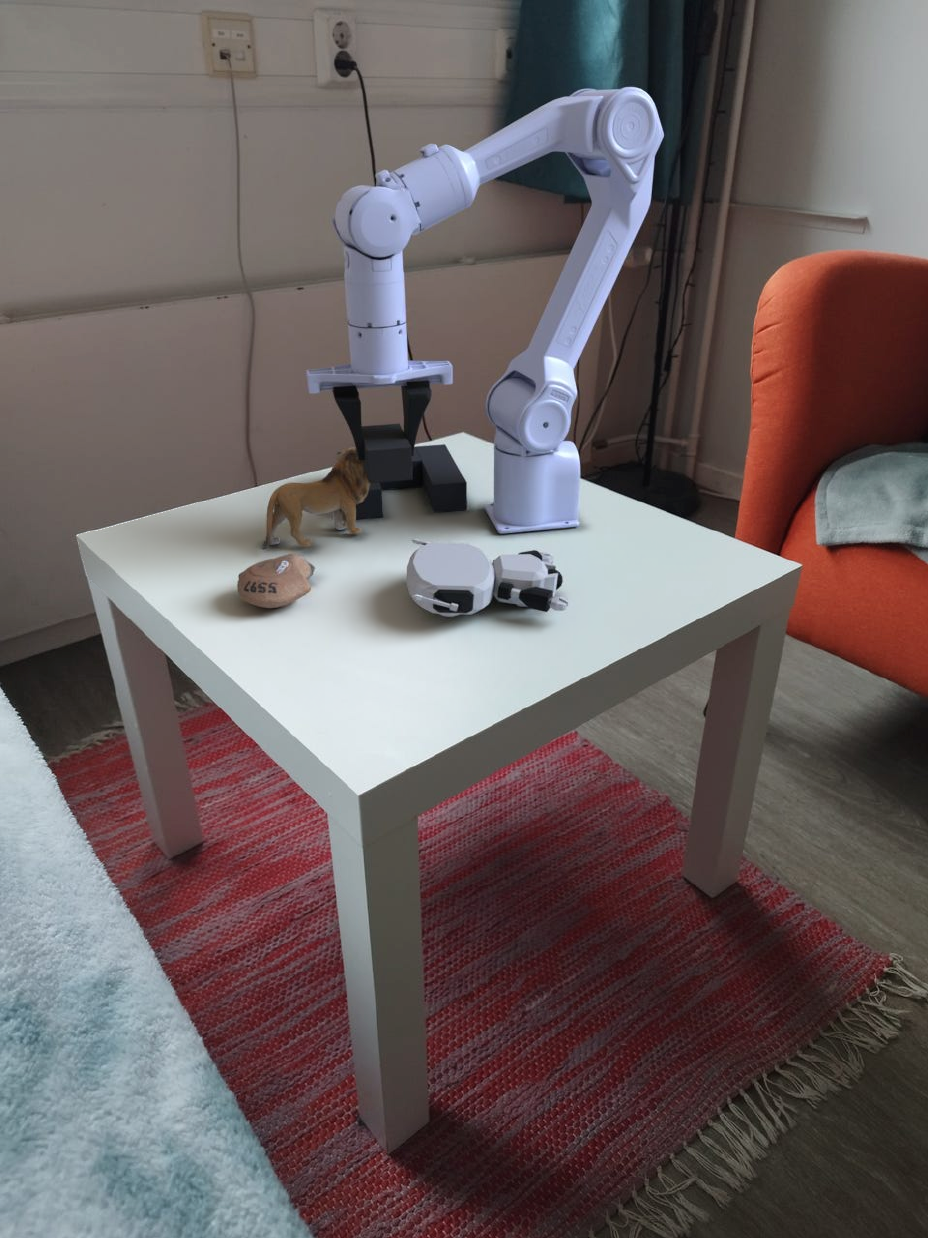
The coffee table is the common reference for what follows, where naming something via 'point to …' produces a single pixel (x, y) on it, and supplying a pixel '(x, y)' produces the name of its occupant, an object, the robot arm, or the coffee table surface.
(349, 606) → the coffee table surface
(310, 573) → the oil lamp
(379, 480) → the black block
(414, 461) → the notched pad
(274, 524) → the lion figurine
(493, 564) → the robot toy
